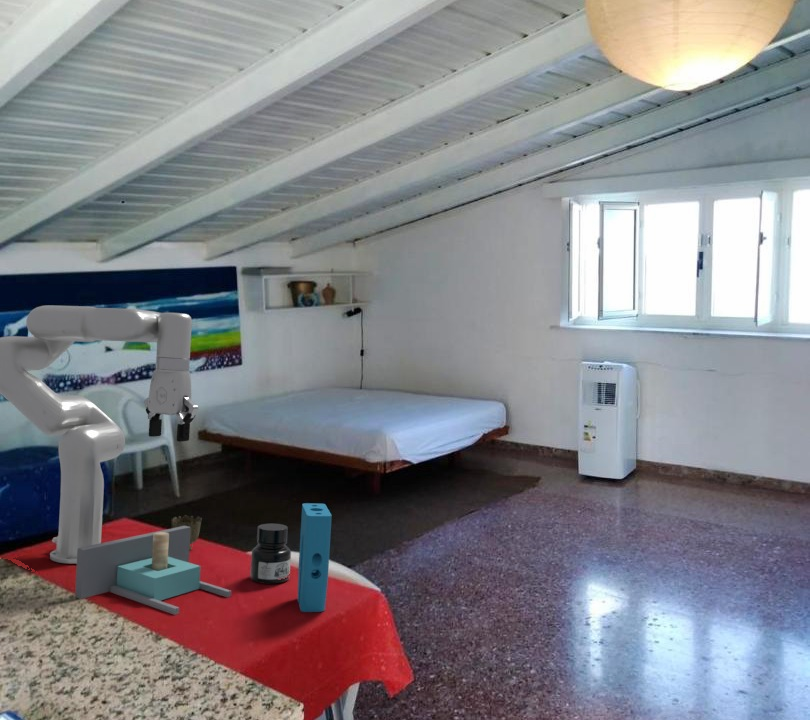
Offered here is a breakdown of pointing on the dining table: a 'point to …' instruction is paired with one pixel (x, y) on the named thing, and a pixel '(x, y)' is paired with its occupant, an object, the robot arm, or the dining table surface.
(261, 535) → the ink bottle
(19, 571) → the dining table surface
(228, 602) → the dining table surface
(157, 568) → the dowel
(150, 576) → the socket block
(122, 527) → the dining table surface
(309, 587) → the block
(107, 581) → the backstop wall
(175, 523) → the cup
